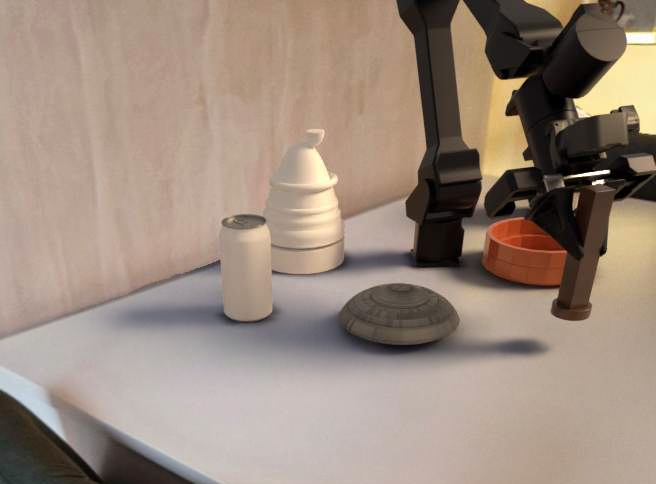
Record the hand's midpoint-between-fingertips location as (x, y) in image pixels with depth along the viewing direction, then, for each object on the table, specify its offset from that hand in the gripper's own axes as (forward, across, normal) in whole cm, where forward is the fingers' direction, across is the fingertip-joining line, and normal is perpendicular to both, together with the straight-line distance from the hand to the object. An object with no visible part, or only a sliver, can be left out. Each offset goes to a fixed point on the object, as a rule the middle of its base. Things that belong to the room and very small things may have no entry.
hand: (591, 257), depth 84 cm
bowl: (-9, +12, +25) cm, 29 cm away
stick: (+4, 0, +6) cm, 7 cm away
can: (-9, -32, +25) cm, 42 cm away
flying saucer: (-1, -16, +17) cm, 24 cm away
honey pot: (-21, -19, +37) cm, 47 cm away
